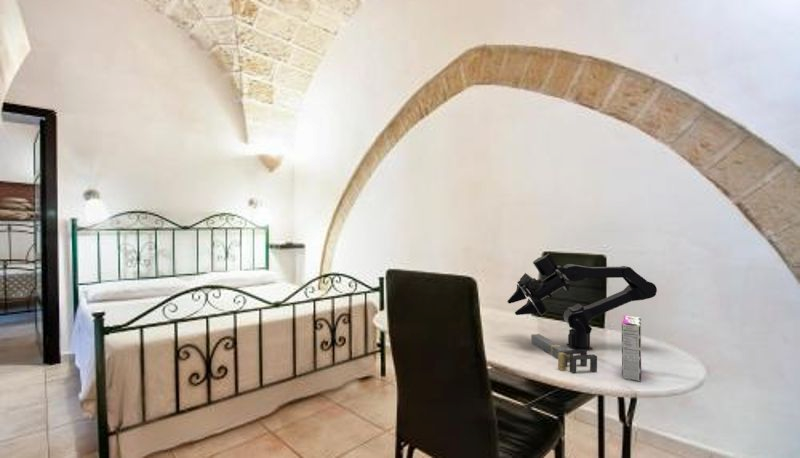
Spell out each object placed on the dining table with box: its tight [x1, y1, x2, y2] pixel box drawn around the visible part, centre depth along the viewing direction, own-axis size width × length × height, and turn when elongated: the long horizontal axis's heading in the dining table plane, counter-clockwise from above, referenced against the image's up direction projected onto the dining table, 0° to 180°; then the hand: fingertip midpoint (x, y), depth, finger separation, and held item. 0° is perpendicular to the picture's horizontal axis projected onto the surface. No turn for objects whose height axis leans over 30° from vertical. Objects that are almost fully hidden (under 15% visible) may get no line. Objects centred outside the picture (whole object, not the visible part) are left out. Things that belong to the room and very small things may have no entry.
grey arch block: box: [561, 349, 588, 368], centre depth 124 cm, size 8×2×5 cm, turn 98°
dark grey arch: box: [569, 353, 598, 374], centre depth 119 cm, size 8×2×5 cm, turn 98°
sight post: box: [557, 352, 571, 371], centre depth 121 cm, size 4×2×5 cm, turn 98°
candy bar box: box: [621, 315, 642, 382], centre depth 117 cm, size 11×5×16 cm, turn 148°
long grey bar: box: [530, 333, 574, 364], centre depth 138 cm, size 22×3×3 cm, turn 8°
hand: (511, 308), depth 146 cm, fingers open, 9 cm apart
